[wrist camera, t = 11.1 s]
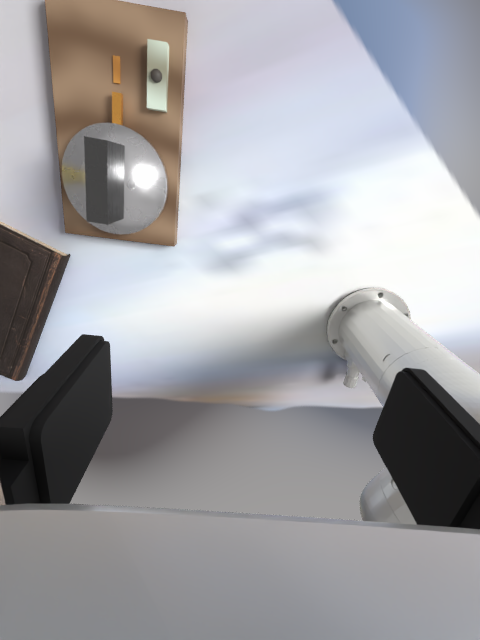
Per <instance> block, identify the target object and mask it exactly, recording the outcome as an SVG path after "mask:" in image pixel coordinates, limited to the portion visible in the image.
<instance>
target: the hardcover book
mask: <svg viewBox="0 0 480 640" xmlns="http://www.w3.org/2000/svg"><path fill="white" fill-rule="evenodd" d="M69 257H70V254H69V255H66V254H64V253H62V252H60V251H58V250H56V249H54V248H52V247H50V246H48V245H46V244H44V243H42V242H40V241H38V240H36V239H34V238H32V237H30V236H28V235H26V234H24V233H22V232H20V231H18V230H16V229H14V228H12V227H10V226H8V225H6V224H4V223H2V222H0V375H2V376H5V377H7V378H10V379H12V380H15V381H20V380H22V379H23V378H24V377H25V376H26V374H27V371H28V368H29V366H30V363H31V360H32V358H33V355H34V352H35V349H36V347H37V344H38V341H39V339H40V336H41V333H42V331H43V328H44V325H45V322H46V320H47V317H48V314H49V312H50V309H51V306H52V303H53V301H54V298H55V295H56V293H57V290H58V287H59V285H60V282H61V279H62V276H63V274H64V271H65V268H66V266H67V263H68V260H69Z"/></svg>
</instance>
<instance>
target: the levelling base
mask: <svg viewBox="0 0 480 640" xmlns="http://www.w3.org/2000/svg"><path fill="white" fill-rule="evenodd" d="M45 7H46V18H47V30H48V41H49V52H50V64H51V75H52V87H53V98H54V109H55V121H56V132H57V144H58V155H59V166H60V178H61V189H62V201H63V212H64V224H65V233H71V234H79V235H87V236H95V237H103V238H111V239H119V240H127V241H135V242H143V243H151V244H159V245H167V246H175V245H176V244H177V225H178V205H179V185H180V165H181V145H182V125H183V105H184V85H185V65H186V45H187V25H188V21H187V17H186V14H185V12H179V11H173V10H168V9H162V8H157V7H151V6H145V5H140V4H134V3H129V2H123V1H118V0H45ZM112 92H117V93H122V94H123V126H125V127H127V128H130V129H132V130H134V131H135V132H137V133H139V134H140V135H142V136H143V137H144V138H146V139H147V140H148V141H149V142H150V143H151V144H152V145H153V147H154V148H155V149H156V150H157V152H158V154H159V155H160V157H161V159H162V161H163V163H164V166H165V168H166V172H167V176H168V197H167V201H166V204H165V207H164V209H163V211H162V213H161V214H160V216H159V217H158V218H157V219H156V220H155V221H154V222H153V223H152V224H151V225H149V226H148V227H146V228H144V229H142V230H140V231H138V232H135V233H131V234H113V233H108V232H105V231H103V230H100V229H98V228H96V227H95V226H93V225H91V224H90V223H89V222H87V221H86V220H85V219H84V218H83V217H82V216H81V215H80V214H79V213H78V212H77V211H76V209H75V208H74V207H73V205H72V204H71V202H70V200H69V198H68V196H67V194H66V191H65V188H64V184H63V180H62V160H63V156H64V152H65V150H66V148H67V145H68V144H69V142H70V141H71V139H72V138H73V137H74V136H75V135H76V134H77V133H78V132H79V131H81V130H82V129H84V128H86V127H87V126H90V125H93V124H97V123H112Z"/></svg>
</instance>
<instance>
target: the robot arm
mask: <svg viewBox="0 0 480 640" xmlns="http://www.w3.org/2000/svg"><path fill="white" fill-rule="evenodd" d="M378 293H379V294H378ZM343 306H344V307H343ZM342 307H343V308H342ZM327 337H328V341H329V343H330V345H331V347H332V349H333V350H334V351H335V353H336V354H337V355H338V356H340V357H341V358H343V359H344V360H346V361H348V362H347V367H348V371H347V373H346V376H345V379H344V382H343V384H344V385H345V386H346V387H349V388H355V387H356V384H357V381H358V376H359V373H361V374H362V376H363V377H362V380H364V381H365V382H367V383H368V385H369V386H370V388H371V389H372V391H373V392H374V394H375V395H376V397H377V398H378V400H379V401H380V403H381V404H382V406H383V410H382V412H381V415H380V418H379V420H378V423H377V425H376V428H375V431H374V434H373V441H374V445H375V447H376V449H377V450H378V452H379V454H380V456H381V458H382V460H383V462H384V463H385V465H386V467H385V468H384V469H383V470H382V471H381V472H380V473H378V474H377V475H376V476H375V477H374V478H373V479H372V480H371V481H370V482H369V483H368V484H367V485H366V486H365V488H364V489H363V491H362V494H361V497H360V513H361V516H362V520H363V521H358V520H343V519H328V518H313V517H297V516H282V515H266V514H250V513H234V512H218V511H217V512H216V511H200V510H183V509H167V508H150V507H130V506H108V505H84V504H69V503H70V501H71V499H72V497H73V495H74V493H75V491H76V489H77V487H78V485H79V483H80V481H81V479H82V477H83V475H84V473H85V471H86V469H87V467H88V465H89V463H90V461H91V459H92V457H93V455H94V453H95V451H96V449H97V447H98V445H99V443H100V441H101V439H102V437H103V435H104V433H105V431H106V429H107V427H108V425H109V423H110V421H111V416H112V386H111V360H110V344H109V342H108V341H104V338H103V337H102V336H94V335H85V334H83V335H81V336H80V337H79V338H78V339H77V340H76V341H75V342H74V343H73V344H72V345H71V347H70V348H69V349H68V350H67V351H66V352H65V353H64V354H63V355H62V356H61V357H60V358H59V359H58V360H57V361H56V362H55V363H54V364H53V365H52V366H51V367H50V368H49V369H48V371H47V372H46V373H45V374H43V375H41V376H40V377H39V378H38V379H37V380H36V381H35V382H34V383H33V384H32V385H31V386H30V387H29V388H28V389H27V390H26V391H25V392H24V393H23V394H22V395H21V396H20V397H19V398H18V400H16V401H15V403H14V404H13V405H12V406H11V407H10V408H9V409H8V410H7V411H6V412H5V413H4V414H3V415H2V416H1V417H0V640H480V373H478V372H477V371H476V370H474V369H473V368H471V367H470V366H469V365H467V364H466V363H465V362H464V361H462V360H461V359H460V358H458V357H457V356H456V355H455V354H453V353H452V352H451V351H449V350H448V349H447V348H446V347H444V346H443V345H442V344H441V343H439V342H438V341H437V340H436V339H434V338H433V337H432V336H430V335H429V334H428V333H427V332H425V331H424V330H423V329H422V328H420V327H419V326H418V325H417V324H415V323H414V322H413V321H412V320H411V317H410V311H409V309H408V306H407V305H406V303H405V302H404V301H403V300H402V299H401V298H400V297H399V296H398V295H396V294H395V293H393V292H391V291H389V290H386V289H381V288H367V289H362V290H359V291H357V292H354V293H352V294H350V295H349V296H347V297H346V298H344V299H343V300H342V301H341V302H340V303H339V304H338V305H337V306H336V307H335V308H334V310H333V312H332V313H331V315H330V318H329V321H328V325H327ZM333 339H334V340H333Z"/></svg>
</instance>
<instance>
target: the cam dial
mask: <svg viewBox="0 0 480 640" xmlns="http://www.w3.org/2000/svg"><path fill="white" fill-rule="evenodd" d="M62 180H63V184H64V188H65V191H66V194H67V196H68V198H69V200H70V202H71V204H72V205H73V207H74V208H75V209H76V211H77V212H78V213H79V214H80V215H81V216H82V217H83V218H84V219H85V220H86V221H87V222H89V223H90V224H91V225H93V226H95V227H96V228H98V229H100V230H103V231H105V232H108V233H113V234H131V233H135V232H138V231H140V230H142V229H144V228H146V227H148V226H149V225H151V224H152V223H153V222H154V221H155V220H156V219H157V218H158V217H159V216H160V214H161V213H162V211H163V209H164V207H165V204H166V201H167V197H168V176H167V172H166V168H165V166H164V163H163V161H162V159H161V157H160V155H159V154H158V152H157V150H156V149H155V148H154V147H153V145H152V144H151V143H150V142H149V141H148V140H147V139H146V138H144V137H143V136H142V135H140V134H139V133H137V132H135V131H134V130H132V129H130V128H127V127H125V126H123V94H122V93H117V92H112V123H97V124H93V125H90V126H87V127H86V128H84V129H82V130H81V131H79V132H78V133H77V134H76V135H75V136H74V137H73V138H72V139H71V141H70V142H69V144H68V145H67V148H66V150H65V152H64V156H63V160H62Z"/></svg>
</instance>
